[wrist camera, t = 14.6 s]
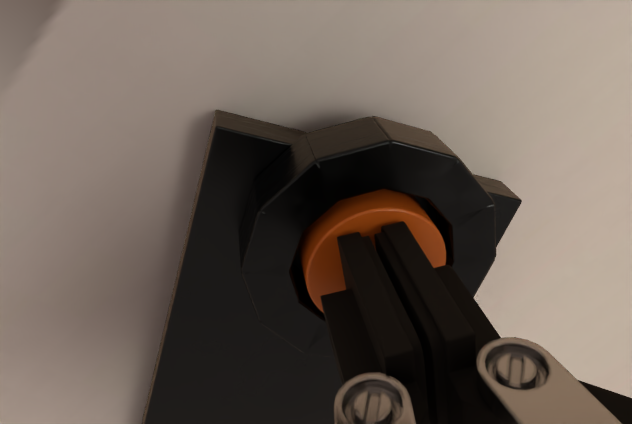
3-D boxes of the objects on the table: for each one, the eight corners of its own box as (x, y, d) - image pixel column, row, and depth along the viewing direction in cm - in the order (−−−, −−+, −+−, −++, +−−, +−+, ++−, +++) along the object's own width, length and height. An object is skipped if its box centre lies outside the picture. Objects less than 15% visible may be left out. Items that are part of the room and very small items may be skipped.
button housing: (226, 61, 13) (228, 96, 10) (520, 144, 15) (582, 189, 13) (126, 486, 20) (113, 569, 17) (336, 492, 23) (351, 565, 20)
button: (320, 162, 13) (333, 194, 11) (443, 191, 14) (471, 224, 12) (280, 276, 14) (287, 317, 13) (394, 294, 15) (413, 334, 14)
